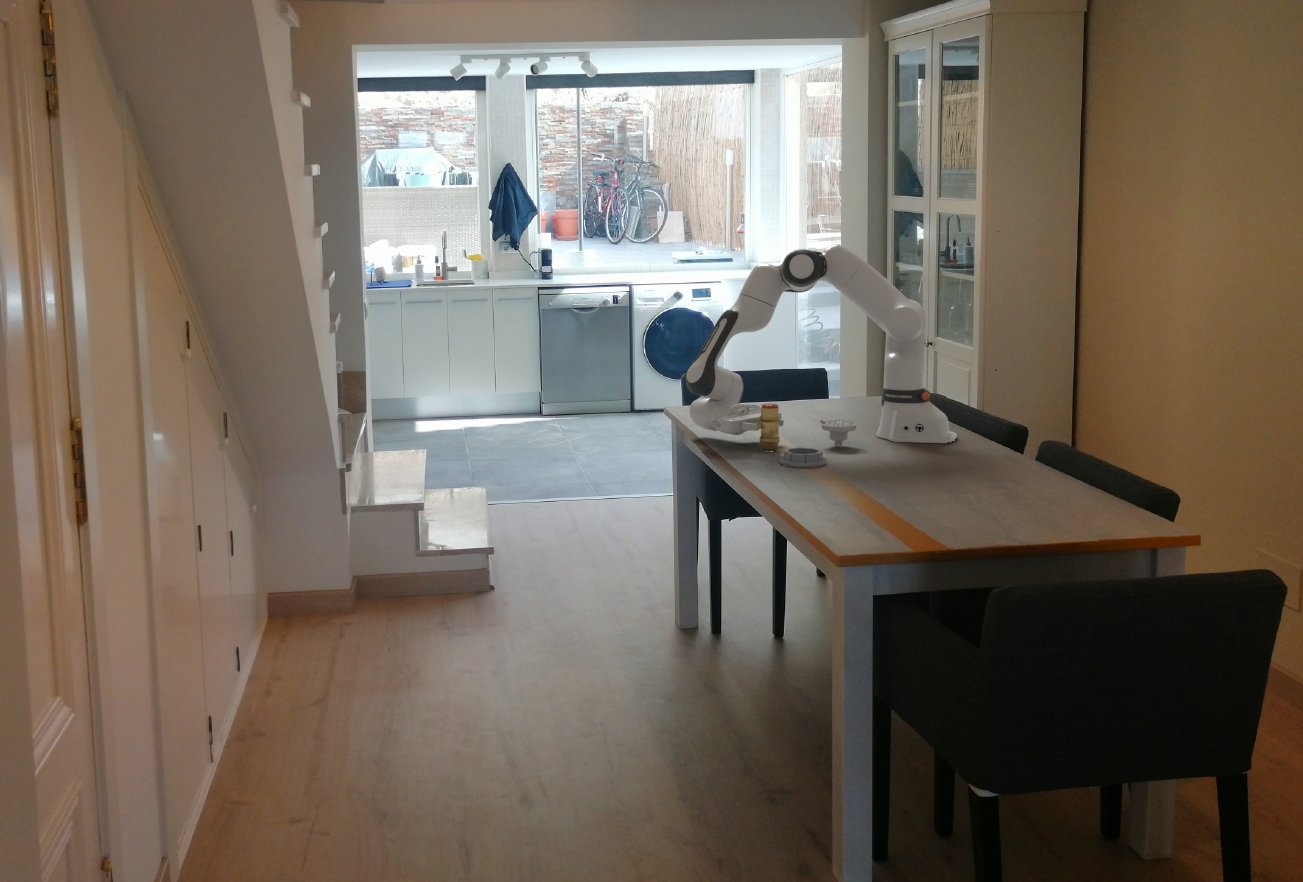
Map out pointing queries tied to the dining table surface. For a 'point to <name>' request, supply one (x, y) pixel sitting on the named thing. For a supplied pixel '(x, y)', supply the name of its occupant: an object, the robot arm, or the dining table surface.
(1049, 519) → the dining table surface
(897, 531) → the dining table surface
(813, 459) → the flange fitting
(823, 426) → the showerhead
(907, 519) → the dining table surface
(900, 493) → the dining table surface
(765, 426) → the cylinder
